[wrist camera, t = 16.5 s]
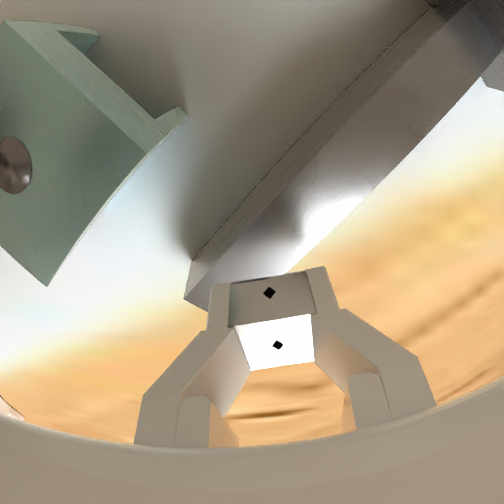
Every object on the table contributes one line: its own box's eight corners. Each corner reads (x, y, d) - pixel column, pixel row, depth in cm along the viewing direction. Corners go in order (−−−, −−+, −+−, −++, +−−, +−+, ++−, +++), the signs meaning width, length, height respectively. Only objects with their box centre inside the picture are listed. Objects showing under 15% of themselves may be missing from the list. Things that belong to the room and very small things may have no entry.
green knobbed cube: (103, 210, 11) (46, 288, 7) (22, 133, 8) (-59, 180, 5) (189, 115, 9) (146, 154, 5) (92, 28, 7) (2, 20, 3)
